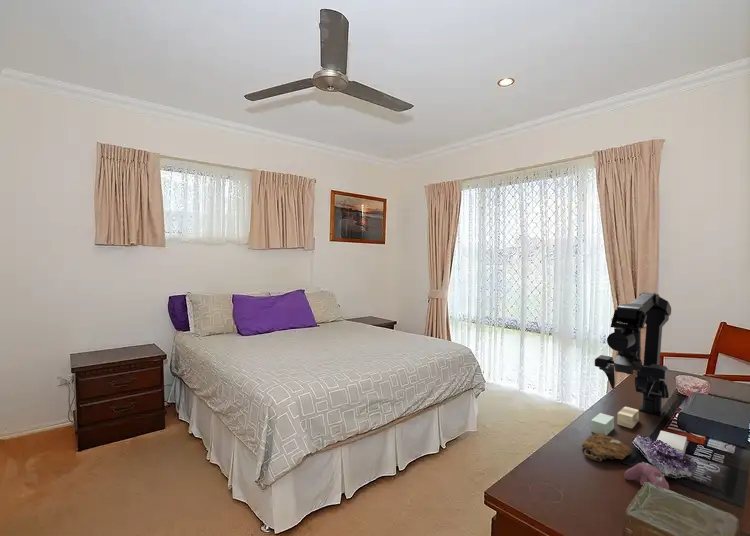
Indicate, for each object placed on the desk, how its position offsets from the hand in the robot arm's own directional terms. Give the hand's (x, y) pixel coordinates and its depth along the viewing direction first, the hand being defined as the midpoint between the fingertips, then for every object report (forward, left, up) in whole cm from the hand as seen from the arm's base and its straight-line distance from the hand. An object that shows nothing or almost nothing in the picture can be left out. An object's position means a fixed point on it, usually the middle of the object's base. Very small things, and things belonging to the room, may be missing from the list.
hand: (629, 392), depth 116 cm
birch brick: (-5, -2, -12) cm, 13 cm away
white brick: (+5, +11, -12) cm, 18 cm away
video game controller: (+33, +11, -12) cm, 37 cm away
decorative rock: (+22, 0, -13) cm, 26 cm away
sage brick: (+7, -6, -12) cm, 15 cm away
